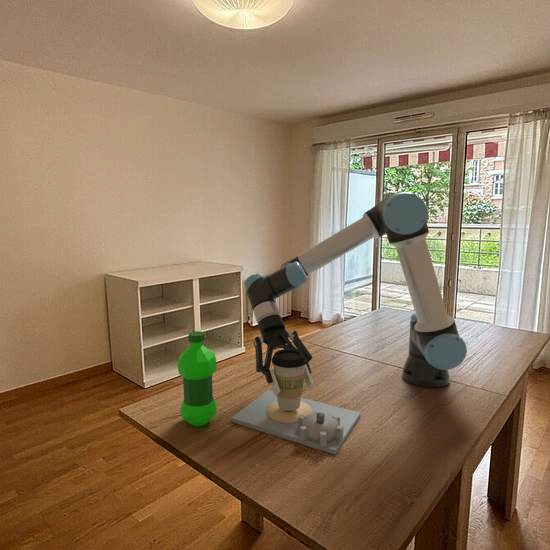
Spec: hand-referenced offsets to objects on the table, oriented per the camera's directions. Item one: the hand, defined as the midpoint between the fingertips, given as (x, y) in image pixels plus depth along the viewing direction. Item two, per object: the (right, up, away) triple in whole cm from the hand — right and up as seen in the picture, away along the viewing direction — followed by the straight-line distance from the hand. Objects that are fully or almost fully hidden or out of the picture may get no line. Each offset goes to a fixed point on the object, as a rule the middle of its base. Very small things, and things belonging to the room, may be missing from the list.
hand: (294, 389), depth 106 cm
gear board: (+1, -9, +2) cm, 9 cm away
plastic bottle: (-26, -9, +1) cm, 28 cm away
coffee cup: (-1, -6, +4) cm, 7 cm away
